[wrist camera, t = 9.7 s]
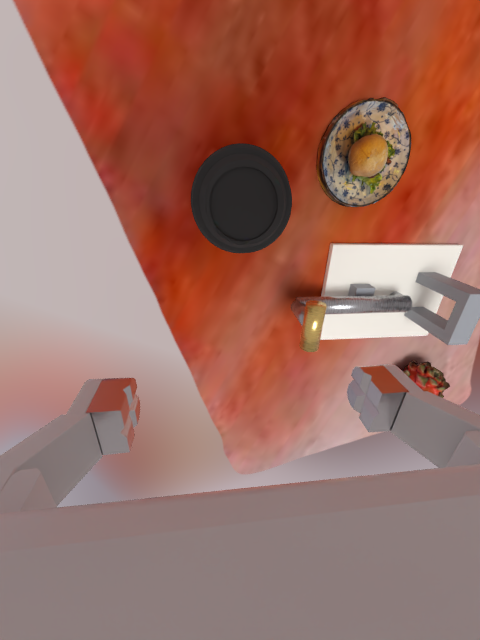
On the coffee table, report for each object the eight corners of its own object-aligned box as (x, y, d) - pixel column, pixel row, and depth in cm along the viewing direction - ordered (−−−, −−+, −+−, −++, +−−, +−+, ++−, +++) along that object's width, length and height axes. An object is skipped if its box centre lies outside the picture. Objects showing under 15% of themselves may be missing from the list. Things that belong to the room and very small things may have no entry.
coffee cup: (213, 139, 33) (220, 112, 19) (276, 179, 35) (320, 179, 22) (183, 211, 36) (172, 230, 23) (243, 243, 39) (265, 276, 25)
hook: (281, 316, 43) (302, 352, 34) (285, 279, 40) (310, 308, 31) (393, 313, 45) (441, 346, 36) (404, 278, 43) (459, 304, 34)
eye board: (313, 336, 47) (340, 374, 38) (330, 243, 40) (368, 262, 31) (423, 332, 50) (473, 367, 41) (457, 244, 43) (527, 261, 34)
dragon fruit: (408, 342, 53) (396, 383, 60) (389, 369, 49) (379, 409, 56) (461, 362, 47) (441, 403, 55) (445, 393, 43) (426, 434, 50)
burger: (381, 212, 39) (418, 219, 33) (305, 199, 37) (327, 203, 31) (418, 111, 34) (469, 94, 28) (331, 89, 32) (364, 66, 25)
